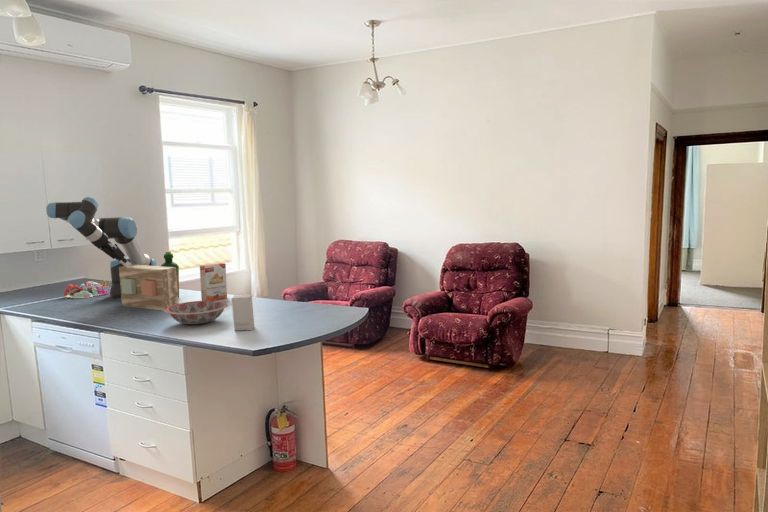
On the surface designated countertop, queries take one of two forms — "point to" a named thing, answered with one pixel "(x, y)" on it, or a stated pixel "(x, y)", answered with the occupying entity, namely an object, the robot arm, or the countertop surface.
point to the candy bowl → (88, 290)
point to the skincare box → (243, 312)
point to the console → (164, 286)
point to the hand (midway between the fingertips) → (128, 265)
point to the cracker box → (213, 281)
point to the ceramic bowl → (196, 311)
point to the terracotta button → (148, 287)
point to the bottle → (171, 265)
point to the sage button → (128, 286)
